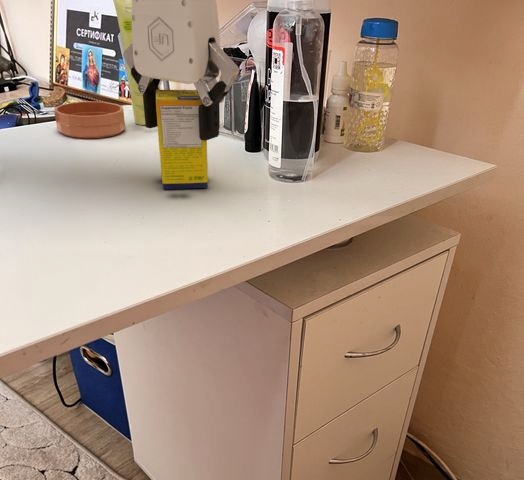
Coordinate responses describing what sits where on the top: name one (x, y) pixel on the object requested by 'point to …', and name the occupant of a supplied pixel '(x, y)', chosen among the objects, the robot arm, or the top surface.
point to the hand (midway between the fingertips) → (181, 131)
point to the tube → (125, 24)
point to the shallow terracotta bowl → (89, 119)
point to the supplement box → (181, 140)
